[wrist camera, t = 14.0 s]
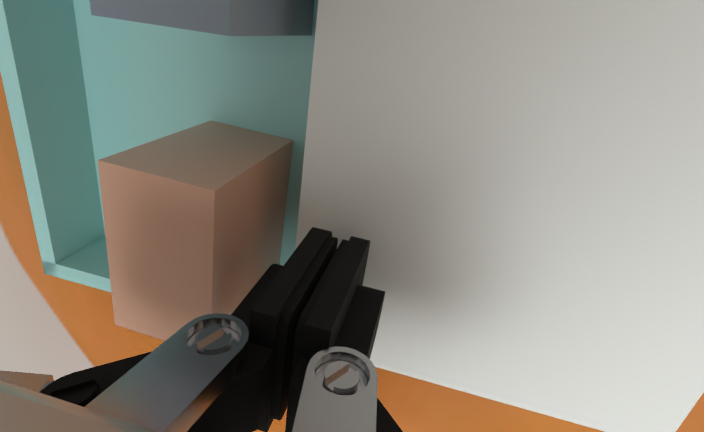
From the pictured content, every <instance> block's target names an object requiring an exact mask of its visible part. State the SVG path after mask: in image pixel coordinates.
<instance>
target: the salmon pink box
mask: <svg viewBox="0 0 704 432" xmlns="http://www.w3.org/2000/svg"><path fill="white" fill-rule="evenodd" d="M292 147H293V140H292V139H287V138H283V137H279V136H275V135H271V134H266V133H262V132H258V131H254V130H249V129H245V128H241V127H237V126H233V125H228V124H224V123H220V122H216V121H212V120H210V121H208V122H205V123H202V124H199V125H196V126H193V127H191V128H188V129H185V130H182V131H179V132H176V133H173V134H171V135H168V136H165V137H162V138H159V139H156V140H153V141H151V142H148V143H145V144H142V145H139V146H136V147H133V148H131V149H128V150H125V151H122V152H119V153H116V154H113V155H111V156H108V157H105V158H102V159H99V160H98V169H99V179H100V188H101V198H102V207H103V217H104V226H105V235H106V245H107V254H108V264H109V273H110V283H111V292H112V302H113V311H114V321H115V325H117V326H121V327H124V328H127V329H130V330H133V331H136V332H139V333H142V334H146V335H149V336H152V337H155V338H158V339H161V340H164V341H166V340H167V339H168V338H170V337H171V336H172V335H173V334H174V333H176V332H177V331H178V330H179V329H181V328H182V327H183V326H184V325H185V324H187V323H188V322H190V321H192V320H193V319H195V318H197V317H200V316H203V315H207V314H213V313H222V314H229V315H231V314H232V313H233V312H234V310H235V309H236V308H237V307H238V305H239V304H240V303H241V302H242V300H243V299H244V298H245V297H246V295H247V294H248V293H249V292H250V290H251V289H252V288H253V287H254V285H255V284H256V283H257V282H258V280H259V279H260V278H261V277H262V275H263V274H264V273H265V272H266V270H267V269H268V268H269V267H270V266H271V265H272V264H279V265H280V256H281V247H282V238H283V229H284V220H285V211H286V202H287V192H288V183H289V174H290V165H291V156H292Z"/></svg>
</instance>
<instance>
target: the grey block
mask: <svg viewBox="0 0 704 432" xmlns="http://www.w3.org/2000/svg"><path fill="white" fill-rule="evenodd" d="M89 1H90V8H91V15H94V16H100V17H107V18H114V19H120V20H127V21H133V22H140V23H146V24H153V25H160V26H166V27H173V28H179V29H186V30H192V31H199V32H206V33H212V34H219V35H225V36H305V35H312V24H313V11H314V0H89Z"/></svg>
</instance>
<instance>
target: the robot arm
mask: <svg viewBox="0 0 704 432" xmlns="http://www.w3.org/2000/svg"><path fill="white" fill-rule="evenodd" d="M337 244H338V238H336V237H332V231H328V230H324V229H319V228H315V227H312V228H311V230H310V231H309V232H308V234H307V235H306V236H305V238H304V239H303V240H302V242H301V243H300V244H299V246H298V247H297V248H296V250H295V251H294V252H293V254H292V255H291V256H290V258H289V259H288V260H287V262H286V263H285V264H284V266H283V265H279V264H272V265H271V266H270V267H269V268H268V269H267V270H266V272H265V273H264V274H263V275H262V277H261V278H260V279H259V280H258V282H257V283H256V284H255V285H254V287H253V288H252V289H251V290H250V292H249V293H248V294H247V295H246V297H245V298H244V299H243V300H242V302H241V303H240V304H239V305H238V307H237V308H236V309H235V310H234V312H233V313H232V314H231V315H229V314H222V313H213V314H207V315H203V316H200V317H197V318H195V319H193V320H192V321H190V322H188V323H187V324H185V325H184V326H183V327H182V328H181V329H179V330H178V331H177V332H176V333H174V334H173V335H172V336H171V337H170V338H168V339H167V340H166V341H165V342H163V343H162V344H161V345H160V346H159V347H157V348H156V349H155V350H154V351H152V352H149V353H145V354H141V355H137V356H134V357H130V358H126V359H123V360H119V361H115V362H111V363H108V364H104V365H100V366H97V367H93V368H89V369H86V370H82V371H78V372H74V373H72V374H69V375H66V376H64V377H61V378H59V379H57V380H56V381H54V380H53V376H52V375H44V374H33V373H22V372H10V371H0V432H253V431H255V430H257V429H258V430H261V431H264V432H268V430H269V428H270V425H271V423H272V421H273V419H277V420H281V419H282V417H283V415H284V413H285V411H286V408H287V406H288V408H287V418H286V430H285V432H403V431H402V430H401V429H400V427H399V426H398V425H397V423H396V422H395V421H394V419H393V418H392V417H391V415H390V414H389V413H388V411H387V410H386V409H385V407H384V406H383V405H382V403H381V402H380V401H379V399H378V398H377V382H378V377H377V371H376V368H375V366H374V365H373V363H372V361H371V360H370V356H371V353H372V349H373V345H374V341H375V337H376V333H377V329H378V325H379V320H380V316H381V311H382V306H383V302H384V297H385V291H382V290H378V289H374V288H370V287H366V286H363V280H364V275H365V269H366V264H367V258H368V253H369V247H370V240H366V239H362V238H358V237H353V236H351V237H350V239H349V241H348V240H344V239H343V240H342V241H341V243H340V245H339V247H338V248H337Z"/></svg>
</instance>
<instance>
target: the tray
mask: <svg viewBox="0 0 704 432" xmlns="http://www.w3.org/2000/svg"><path fill="white" fill-rule="evenodd" d="M317 9H318V0H314V11H313V24H312V35H305V36H225V35H219V34H212V33H206V32H199V31H192V30H186V29H179V28H173V27H166V26H160V25H153V24H146V23H140V22H133V21H127V20H120V19H114V18H107V17H100V16H94V15H91V8H90V1H89V0H0V71H1V76H2V80H3V85H4V90H5V94H6V99H7V103H8V108H9V113H10V117H11V122H12V126H13V131H14V135H15V140H16V145H17V149H18V154H19V158H20V163H21V168H22V172H23V177H24V181H25V186H26V191H27V195H28V200H29V204H30V209H31V213H32V218H33V223H34V227H35V232H36V236H37V241H38V246H39V250H40V255H41V259H42V264H43V269H44V273H45V274H48V275H51V276H55V277H58V278H62V279H65V280H69V281H73V282H76V283H80V284H83V285H87V286H90V287H94V288H97V289H101V290H105V291H108V292H111V283H110V273H109V264H108V254H107V245H106V235H105V226H104V217H103V207H102V198H101V188H100V179H99V169H98V160H99V159H102V158H105V157H108V156H111V155H113V154H116V153H119V152H122V151H125V150H128V149H131V148H133V147H136V146H139V145H142V144H145V143H148V142H151V141H153V140H156V139H159V138H162V137H165V136H168V135H171V134H173V133H176V132H179V131H182V130H185V129H188V128H191V127H193V126H196V125H199V124H202V123H205V122H208V121H210V120H212V121H216V122H220V123H224V124H228V125H233V126H237V127H241V128H245V129H249V130H254V131H258V132H262V133H266V134H271V135H275V136H279V137H283V138H287V139H292V140H293V147H292V156H291V165H290V174H289V183H288V192H287V202H286V211H285V220H284V229H283V238H282V247H281V256H280V265H283V266H284V264H285V263H286V262H287V260H288V259H289V258H290V256H291V255H292V254H293V252H294V251H295V247H296V236H297V226H298V215H299V204H300V193H301V182H302V172H303V161H304V150H305V139H306V128H307V118H308V107H309V96H310V85H311V74H312V63H313V53H314V42H315V31H316V20H317Z"/></svg>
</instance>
